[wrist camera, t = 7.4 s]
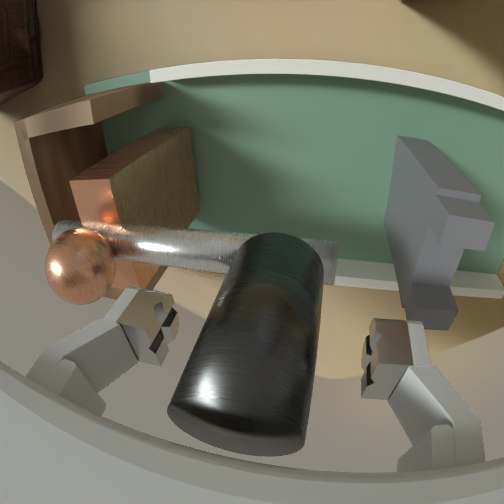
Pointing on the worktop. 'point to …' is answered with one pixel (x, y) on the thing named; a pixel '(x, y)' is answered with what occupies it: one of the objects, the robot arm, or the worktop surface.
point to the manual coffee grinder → (18, 48)
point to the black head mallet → (226, 303)
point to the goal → (73, 150)
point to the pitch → (344, 167)
